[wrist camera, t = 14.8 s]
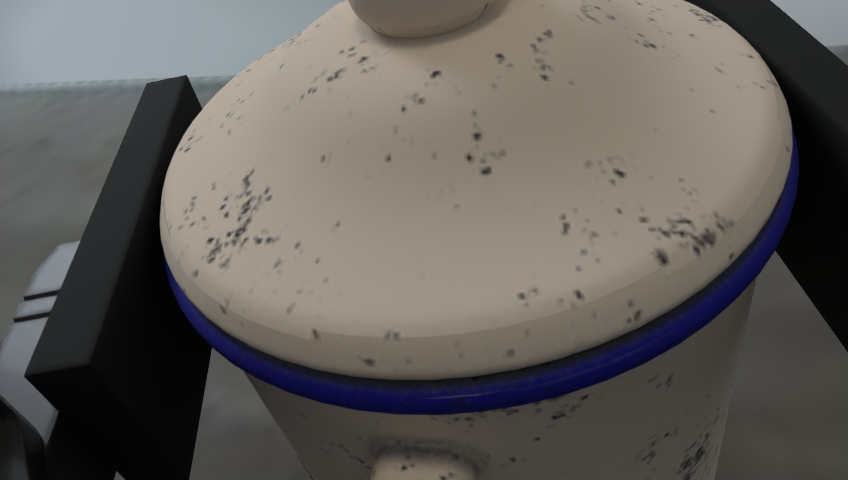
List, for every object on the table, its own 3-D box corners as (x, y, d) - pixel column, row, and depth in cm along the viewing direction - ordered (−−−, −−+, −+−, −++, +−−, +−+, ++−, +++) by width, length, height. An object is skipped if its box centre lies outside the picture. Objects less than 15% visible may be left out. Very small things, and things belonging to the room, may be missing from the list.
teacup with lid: (375, 291, 20) (223, -132, 12) (700, 293, 18) (768, -229, 10) (218, 802, 12) (-566, 497, 4) (793, 939, 9) (1690, 847, 2)
